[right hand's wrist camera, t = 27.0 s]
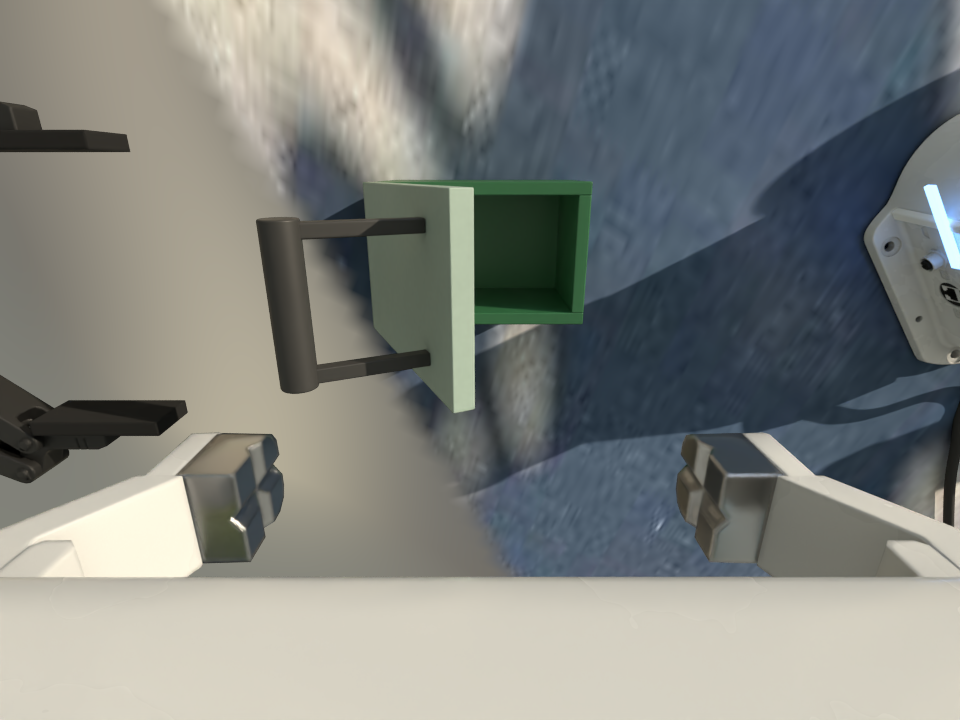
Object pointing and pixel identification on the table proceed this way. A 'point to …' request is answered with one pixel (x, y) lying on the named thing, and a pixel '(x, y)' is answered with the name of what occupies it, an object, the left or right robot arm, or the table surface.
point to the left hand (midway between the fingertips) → (144, 292)
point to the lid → (386, 289)
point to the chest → (528, 249)
